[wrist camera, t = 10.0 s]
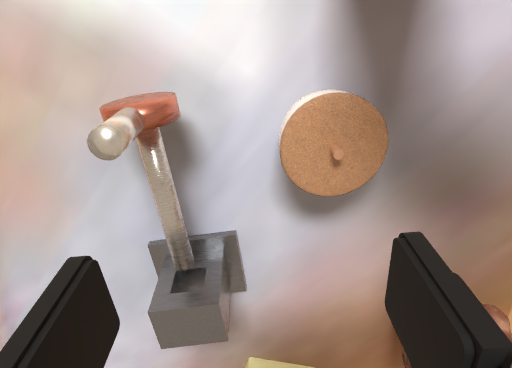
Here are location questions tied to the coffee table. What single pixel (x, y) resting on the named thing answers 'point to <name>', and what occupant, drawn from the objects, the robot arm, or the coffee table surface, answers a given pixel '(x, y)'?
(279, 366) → the slatted curved stool
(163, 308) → the grey square peg socket
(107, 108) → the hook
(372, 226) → the coffee table surface
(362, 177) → the lidded jar
